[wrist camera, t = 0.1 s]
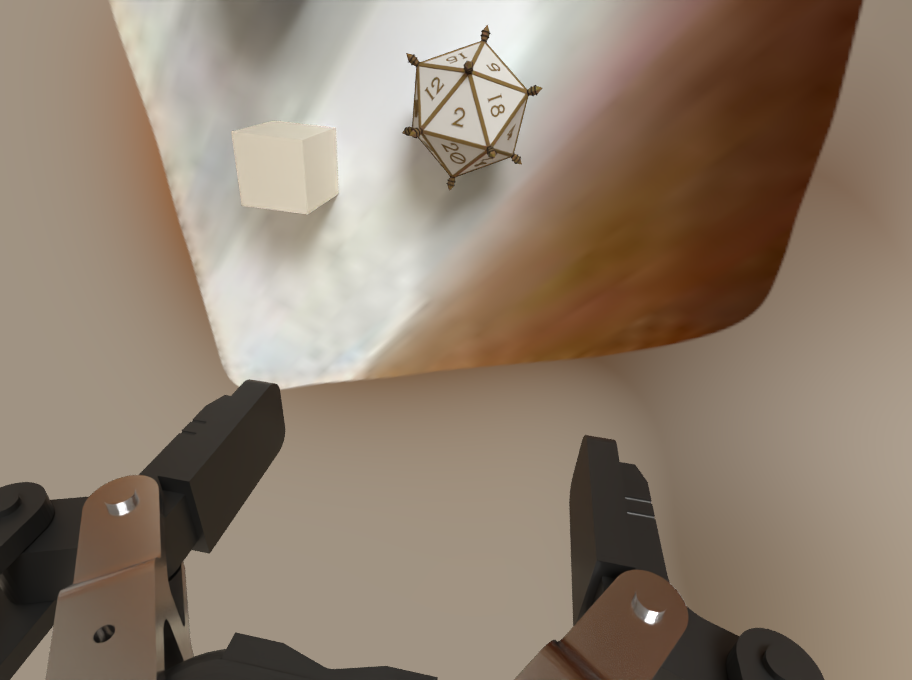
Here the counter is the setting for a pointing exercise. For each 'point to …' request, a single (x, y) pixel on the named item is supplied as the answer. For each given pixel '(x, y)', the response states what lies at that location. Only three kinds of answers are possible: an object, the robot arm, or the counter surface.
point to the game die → (468, 108)
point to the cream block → (286, 166)
